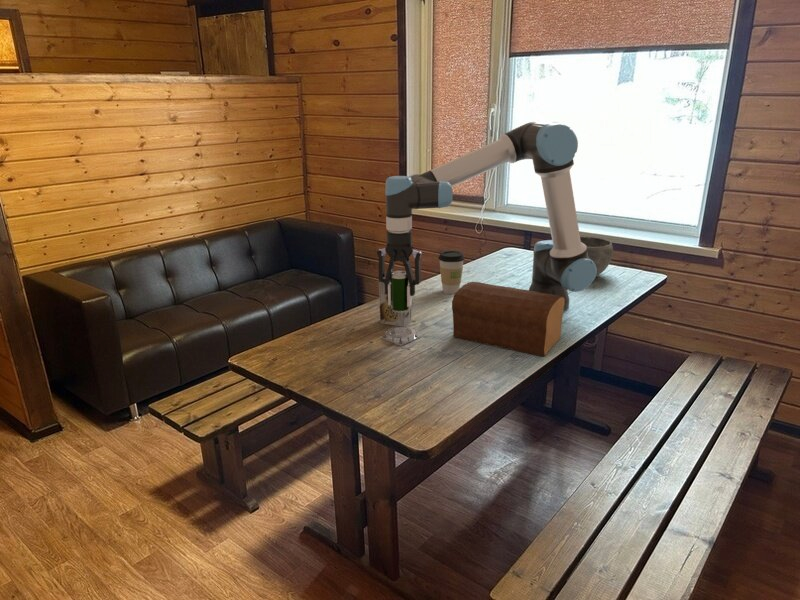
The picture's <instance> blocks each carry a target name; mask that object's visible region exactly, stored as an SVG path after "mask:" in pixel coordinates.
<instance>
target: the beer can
mask: <svg viewBox="0 0 800 600" xmlns="http://www.w3.org/2000/svg"><path fill="white" fill-rule="evenodd" d="M408 285H409V281H408V277H407V274H406V270H393V272H392V275H391V308H392V311H393V312H396V313H404V312H407V311H408V309H409V307H407V286H408Z"/></svg>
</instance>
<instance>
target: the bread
mask: <svg viewBox="0 0 800 600" xmlns="http://www.w3.org/2000/svg"><path fill="white" fill-rule="evenodd" d="M564 302H565V299H564V297H563V296H559V295H553V294H546V293H540V292H535V291H530V290H529V289H520V288H516V287H510V286H503V285H494V284H490V283H485V282H480V281H479V282H478V281H470V282H467V283H465V284H463V285H462V286H460V288H459V290H458V291H457V292H456V293H455V294H453V298H452V300H451V309H452V325H453V326H452V327H453V330H452V331H453V332H452V333H453V337H454V338H456V339H457V338H458V339H461V340H466V341H469V342H474V343H479V344H483V345H487V346H491V347H492V346H494V347H498V348H501V349H505V350H506V349H507V350H510V351H516V352H521V353H525V354H529V355H534V356H539V357H545V356H546V355H547V353H548V352H549V351H550V350H551V349H552V348H553V346H554V345H556V344H557V342H558V341H559V340H560V339H561V337H562V335H561V334H562V321H563V316H564V315H563V312H564V310H565V309H564ZM563 309H564V310H563Z"/></svg>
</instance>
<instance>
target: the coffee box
mask: <svg viewBox="0 0 800 600" xmlns="http://www.w3.org/2000/svg"><path fill="white" fill-rule="evenodd" d="M386 274H387V272H385V278H386ZM378 280H379V277H378ZM390 282H391V281H390ZM378 290H379V291H378V292H379V293H378V294H379V298H378V299H379V317H380V319H379V323H380V324H383V325H391V326H395V327H401V326H402V327H407V325H408V324H409V323H411V322H412V305H411V306H410V307H409V309H408V311H407V312H404V313H396V312H393V311H392V308H391V305H388V294H386V293H385V284H384V283H383V282H379V281H378Z"/></svg>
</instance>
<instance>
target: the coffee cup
mask: <svg viewBox="0 0 800 600" xmlns="http://www.w3.org/2000/svg"><path fill="white" fill-rule="evenodd" d="M438 260H439V273H440V279H441V280H440V281H441V286H442V287H441V288H442V293H443V294H446V295H454V294H455V293H456V292H457V291H458V290H459V289H460V288H461V282H462V275H463V269H464V260H465V255H464V253H463V252H462V251H459V250H444V251H440V254H439V255H438Z"/></svg>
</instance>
